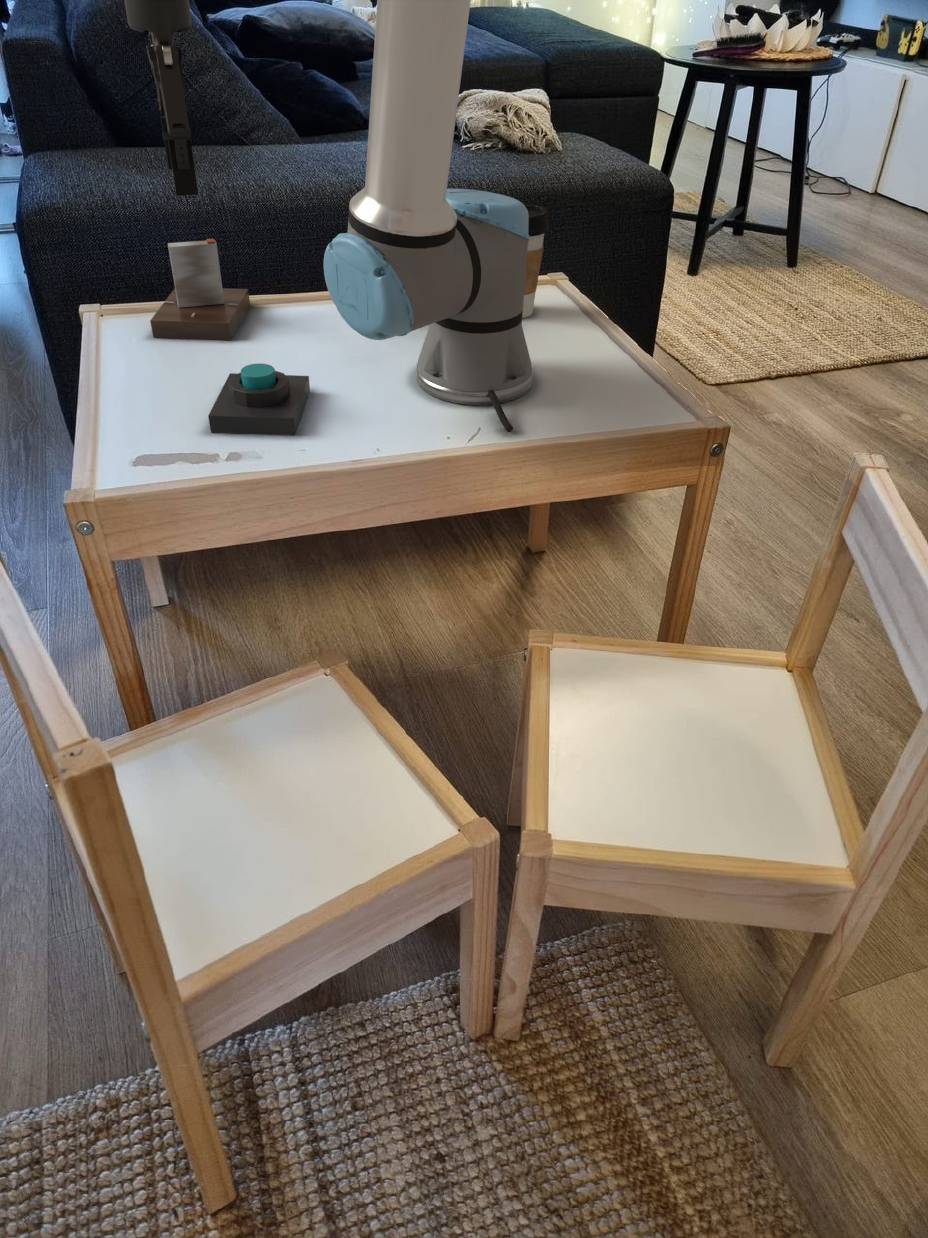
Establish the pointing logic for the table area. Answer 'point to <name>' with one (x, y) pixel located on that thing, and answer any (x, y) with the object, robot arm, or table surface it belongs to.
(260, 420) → the button block
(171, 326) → the panel
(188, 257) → the grey flat upright block
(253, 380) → the button
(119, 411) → the table surface
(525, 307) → the coffee cup
